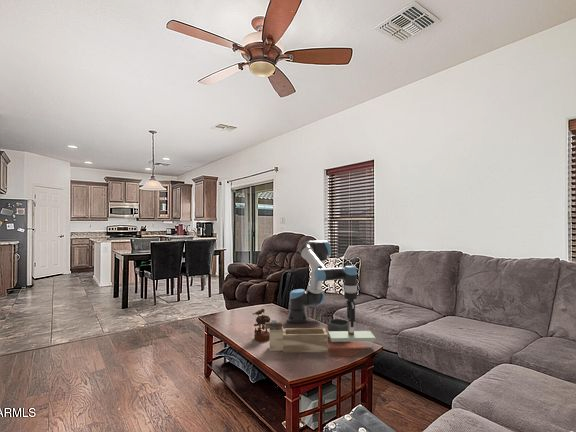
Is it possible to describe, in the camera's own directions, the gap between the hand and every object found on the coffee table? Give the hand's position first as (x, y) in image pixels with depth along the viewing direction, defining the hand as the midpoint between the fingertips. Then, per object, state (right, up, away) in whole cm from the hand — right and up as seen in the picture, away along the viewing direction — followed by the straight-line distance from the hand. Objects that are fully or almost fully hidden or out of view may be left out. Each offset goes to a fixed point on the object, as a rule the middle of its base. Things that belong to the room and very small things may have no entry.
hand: (351, 330), depth 193 cm
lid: (0, -4, 0) cm, 4 cm away
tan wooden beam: (-47, +2, -1) cm, 47 cm away
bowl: (-4, -11, +19) cm, 22 cm away
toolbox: (-32, -10, -1) cm, 34 cm away
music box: (-54, -11, +16) cm, 58 cm away
